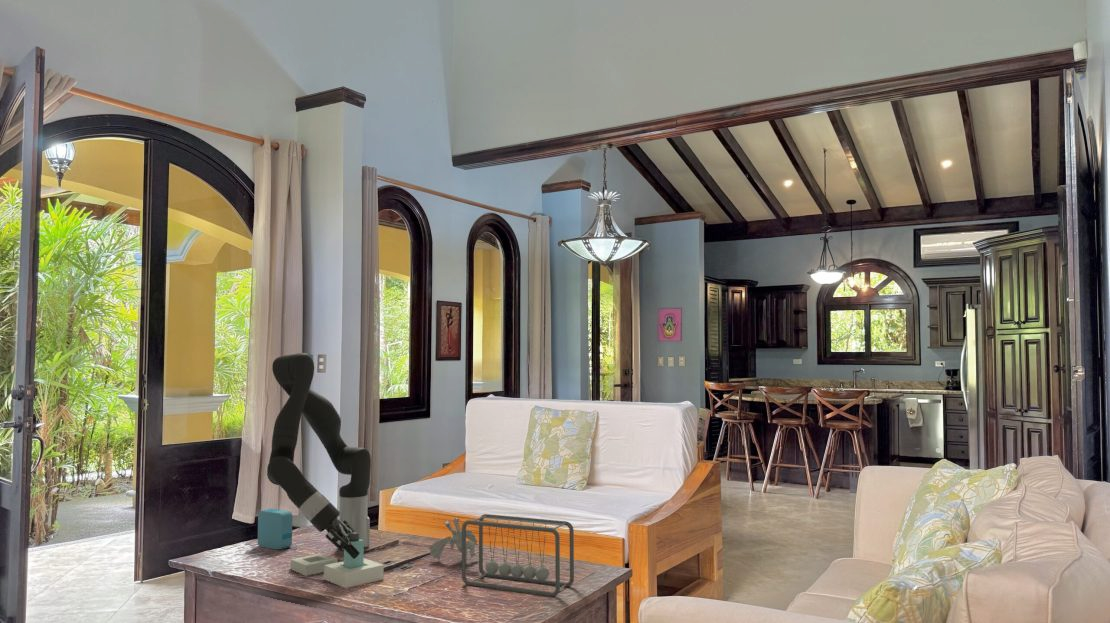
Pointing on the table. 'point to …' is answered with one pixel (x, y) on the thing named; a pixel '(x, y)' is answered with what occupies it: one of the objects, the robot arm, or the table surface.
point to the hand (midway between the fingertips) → (360, 553)
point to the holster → (312, 563)
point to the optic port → (353, 573)
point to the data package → (275, 528)
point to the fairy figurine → (454, 541)
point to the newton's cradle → (517, 568)
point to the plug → (359, 545)
